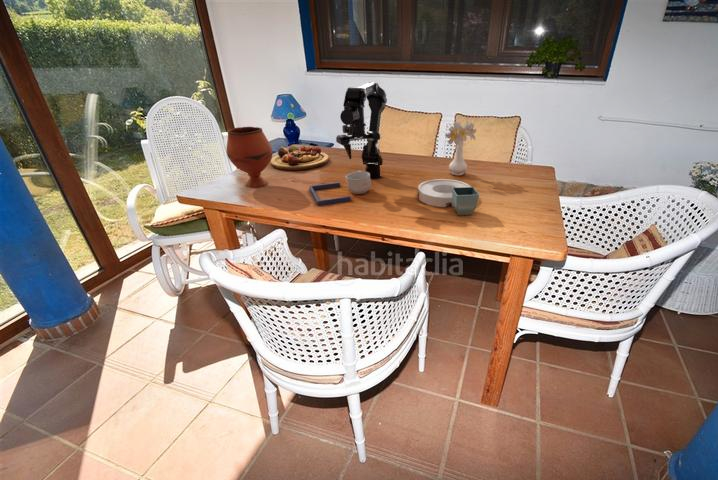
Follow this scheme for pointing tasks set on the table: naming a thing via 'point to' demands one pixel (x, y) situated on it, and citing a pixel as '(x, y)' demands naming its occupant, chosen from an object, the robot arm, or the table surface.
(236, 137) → the goblet
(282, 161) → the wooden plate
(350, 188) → the teacup
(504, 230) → the table surface
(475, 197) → the flower pot
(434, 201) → the ashtray
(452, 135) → the flower vase
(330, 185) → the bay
